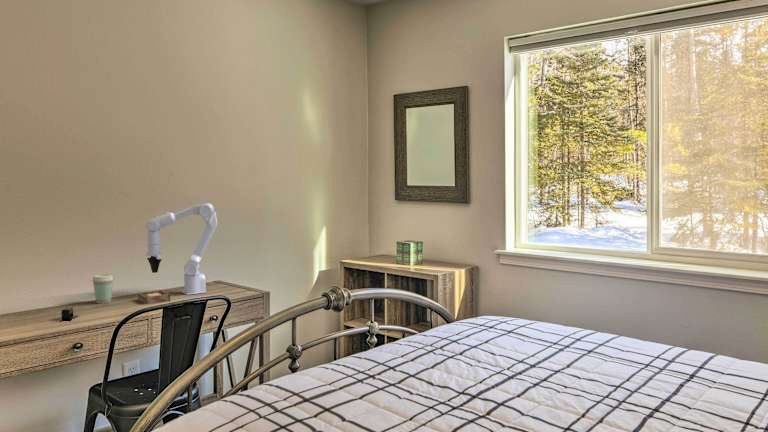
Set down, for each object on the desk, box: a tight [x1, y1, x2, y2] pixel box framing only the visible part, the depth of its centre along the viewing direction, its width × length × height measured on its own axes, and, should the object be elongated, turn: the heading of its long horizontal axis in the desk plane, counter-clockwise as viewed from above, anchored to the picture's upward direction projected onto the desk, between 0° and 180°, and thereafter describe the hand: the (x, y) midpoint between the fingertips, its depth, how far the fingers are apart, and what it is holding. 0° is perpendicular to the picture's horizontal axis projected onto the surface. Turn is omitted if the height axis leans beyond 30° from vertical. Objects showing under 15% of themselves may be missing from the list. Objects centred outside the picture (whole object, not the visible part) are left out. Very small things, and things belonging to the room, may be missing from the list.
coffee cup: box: [91, 273, 114, 305], centre depth 266 cm, size 9×8×12 cm
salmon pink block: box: [146, 292, 161, 297], centre depth 270 cm, size 5×6×3 cm
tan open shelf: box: [137, 290, 171, 305], centre depth 271 cm, size 11×11×3 cm
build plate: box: [55, 307, 79, 323], centre depth 237 cm, size 12×7×5 cm, turn 7°
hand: (154, 272), depth 283 cm, fingers closed
